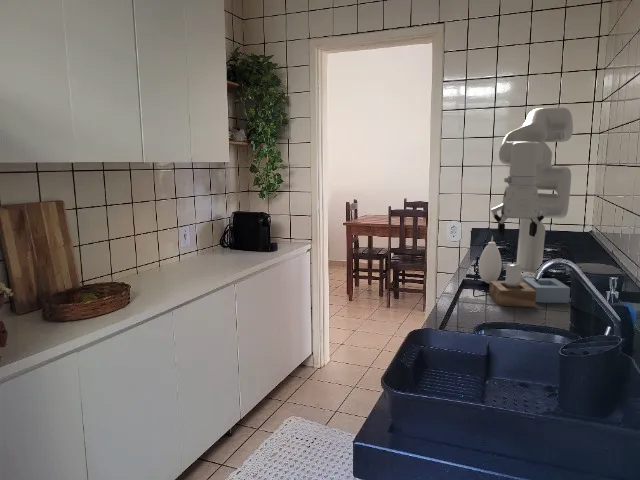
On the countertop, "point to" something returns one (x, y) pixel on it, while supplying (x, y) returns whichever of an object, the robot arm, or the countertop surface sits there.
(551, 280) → the socket block
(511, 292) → the walnut mount
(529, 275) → the mechanical component
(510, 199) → the robot arm
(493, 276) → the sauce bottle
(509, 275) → the steel pin
